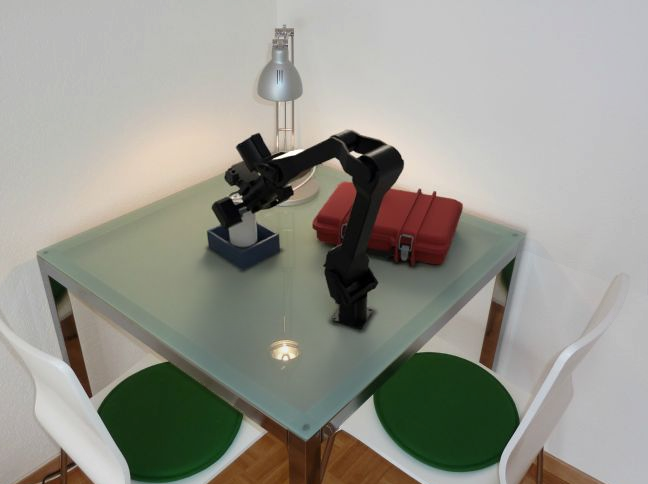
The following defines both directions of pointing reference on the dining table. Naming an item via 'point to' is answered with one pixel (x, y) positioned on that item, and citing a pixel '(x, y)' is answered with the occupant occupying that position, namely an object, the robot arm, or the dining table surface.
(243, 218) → the can
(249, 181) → the robot arm
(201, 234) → the dining table surface
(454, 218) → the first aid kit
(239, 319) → the dining table surface
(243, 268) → the case
